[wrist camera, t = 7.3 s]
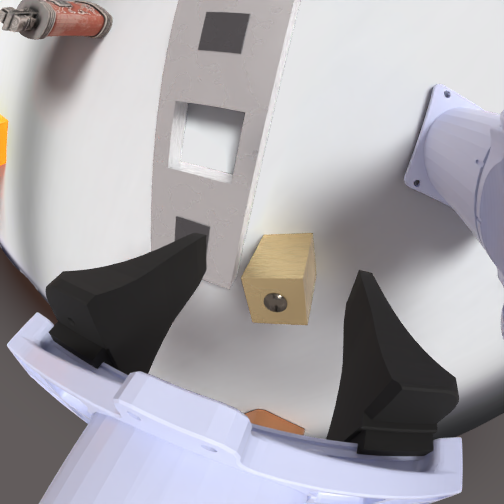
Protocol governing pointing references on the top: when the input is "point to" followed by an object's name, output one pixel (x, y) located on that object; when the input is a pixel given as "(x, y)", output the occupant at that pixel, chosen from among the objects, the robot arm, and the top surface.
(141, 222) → the top surface
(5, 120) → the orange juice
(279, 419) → the whiskey bottle
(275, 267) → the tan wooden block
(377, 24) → the top surface
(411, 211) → the top surface
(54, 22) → the lighter
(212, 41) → the rail
